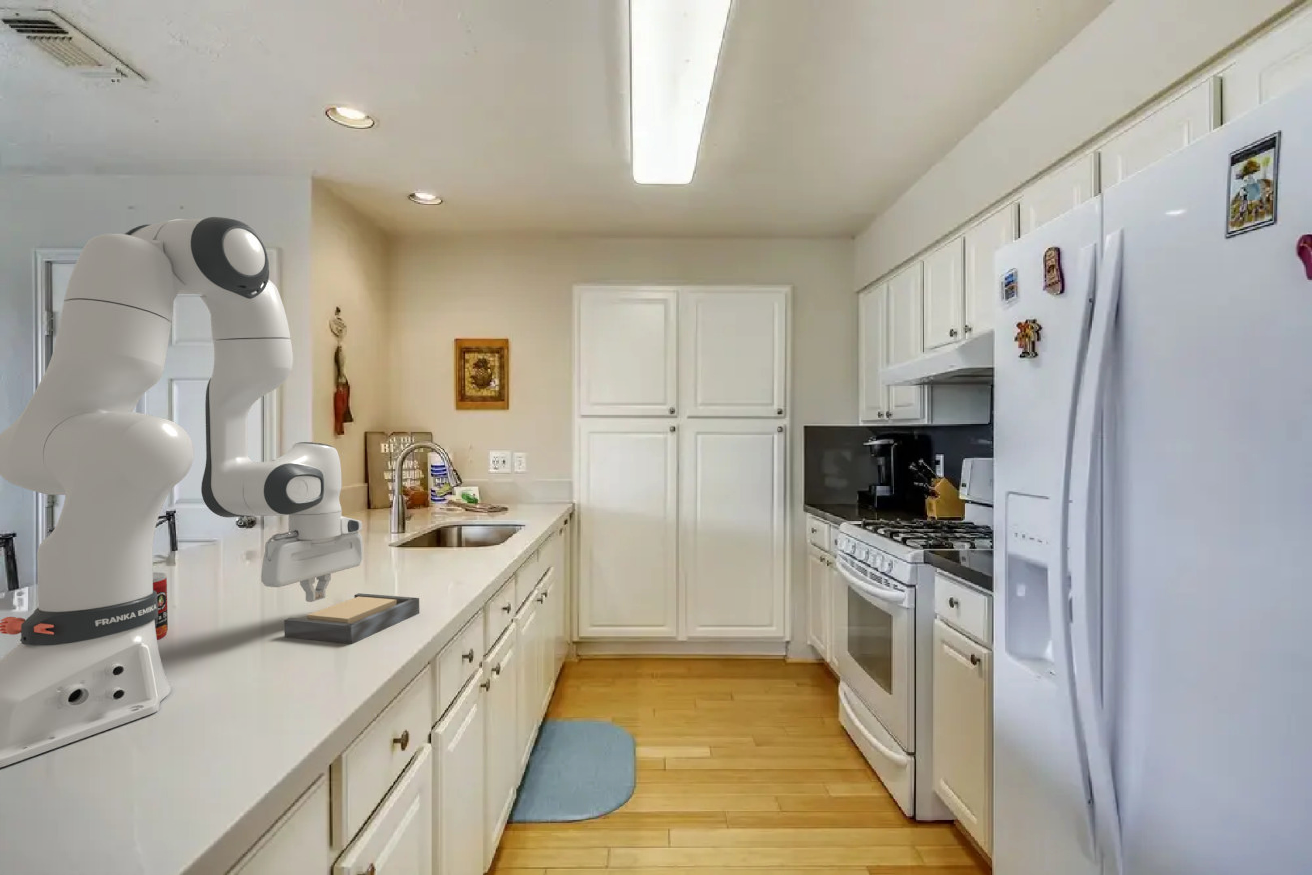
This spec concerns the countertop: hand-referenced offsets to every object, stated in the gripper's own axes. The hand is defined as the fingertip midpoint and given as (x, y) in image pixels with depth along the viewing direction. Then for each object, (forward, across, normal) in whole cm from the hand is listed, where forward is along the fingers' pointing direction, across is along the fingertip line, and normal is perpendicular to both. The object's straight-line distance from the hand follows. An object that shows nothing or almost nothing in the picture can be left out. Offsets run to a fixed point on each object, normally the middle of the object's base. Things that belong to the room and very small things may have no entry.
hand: (315, 599), depth 113 cm
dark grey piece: (+4, +1, -8) cm, 9 cm away
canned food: (+5, -15, +23) cm, 28 cm away
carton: (+5, 0, -9) cm, 10 cm away
